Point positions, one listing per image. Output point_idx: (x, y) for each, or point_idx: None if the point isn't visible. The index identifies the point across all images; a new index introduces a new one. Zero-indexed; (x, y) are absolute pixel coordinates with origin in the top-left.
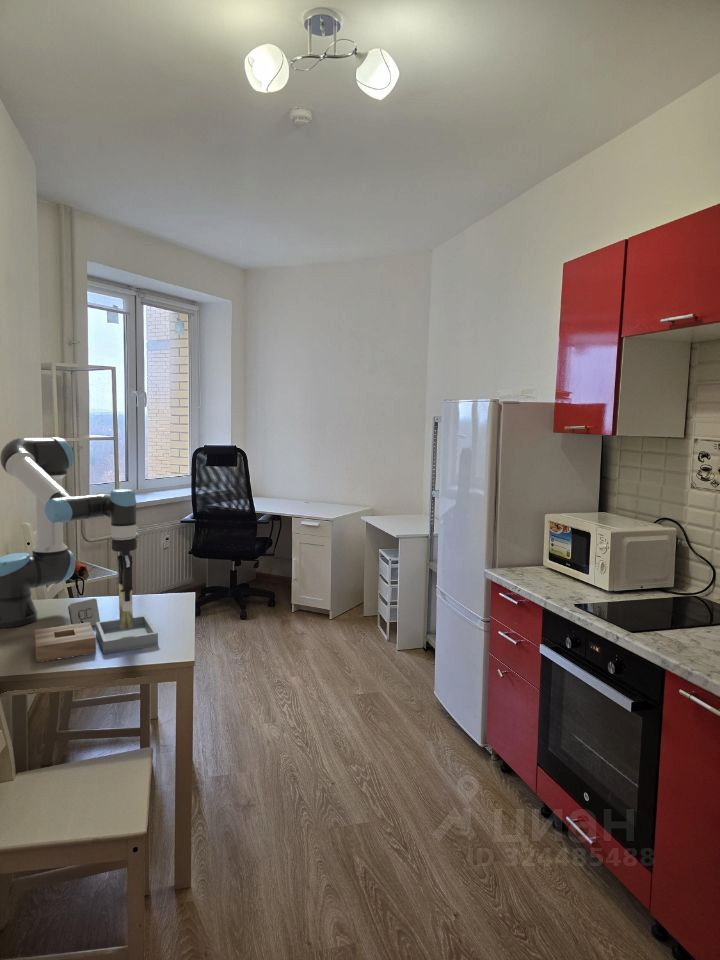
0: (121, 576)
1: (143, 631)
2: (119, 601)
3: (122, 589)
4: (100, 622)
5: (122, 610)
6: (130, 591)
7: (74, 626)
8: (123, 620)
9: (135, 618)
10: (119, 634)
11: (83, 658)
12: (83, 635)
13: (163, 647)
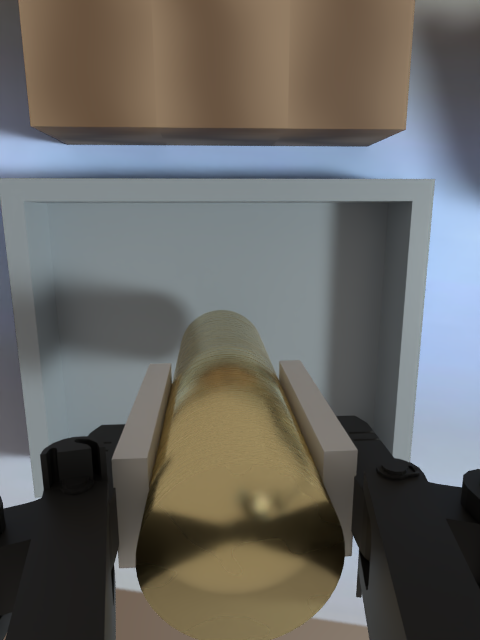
0: (391, 621)
1: None
2: (215, 371)
3: (81, 481)
4: (414, 208)
5: (169, 364)
6: (121, 549)
7: (360, 5)
8: (183, 344)
9: (392, 420)
10: (276, 301)
11: (10, 65)
12: (112, 46)
13: (19, 476)
